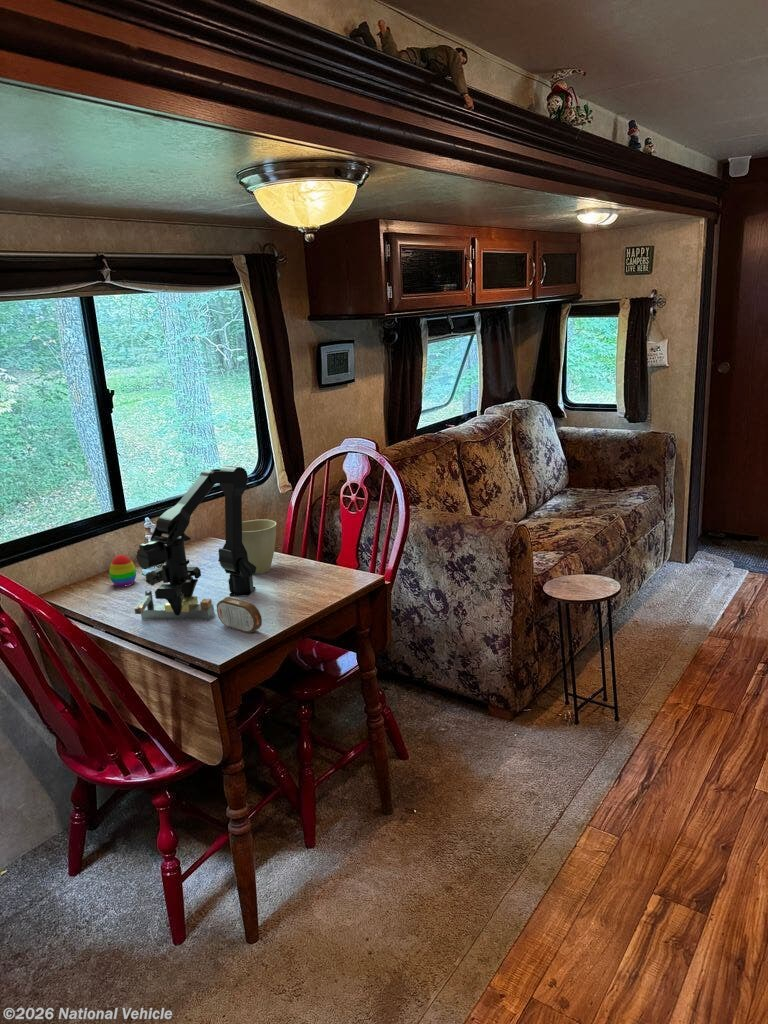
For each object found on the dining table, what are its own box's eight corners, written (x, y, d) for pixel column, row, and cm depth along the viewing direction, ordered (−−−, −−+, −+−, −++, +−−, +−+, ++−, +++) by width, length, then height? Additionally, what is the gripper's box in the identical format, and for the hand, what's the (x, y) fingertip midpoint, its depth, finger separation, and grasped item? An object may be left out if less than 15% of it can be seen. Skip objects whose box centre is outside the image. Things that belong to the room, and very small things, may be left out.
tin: (264, 632, 189) (261, 603, 187) (255, 637, 186) (252, 607, 184) (225, 621, 197) (221, 593, 195) (216, 625, 195) (213, 597, 193)
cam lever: (143, 621, 192) (140, 606, 191) (136, 622, 192) (133, 606, 191) (154, 605, 203) (152, 590, 202) (148, 605, 203) (145, 590, 202)
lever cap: (198, 602, 204) (197, 596, 204) (189, 611, 198) (188, 605, 197) (175, 602, 205) (174, 596, 204) (165, 611, 199) (164, 605, 198)
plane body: (214, 613, 203) (212, 597, 202) (208, 620, 199) (206, 603, 198) (148, 613, 206) (146, 597, 205) (141, 620, 202) (139, 603, 200)
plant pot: (286, 563, 244) (281, 518, 240) (273, 578, 230) (268, 531, 226) (244, 563, 246) (239, 519, 242) (229, 578, 232) (224, 531, 228)
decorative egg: (107, 589, 228) (103, 559, 226) (116, 580, 236) (111, 552, 233) (133, 587, 228) (128, 558, 226) (140, 578, 236) (136, 550, 234)
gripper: (162, 548, 208) (169, 598, 212) (132, 570, 190) (141, 623, 194) (198, 548, 206) (204, 598, 210) (172, 570, 188) (179, 623, 192)
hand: (182, 610), depth 202 cm, fingers closed on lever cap, 6 cm apart
